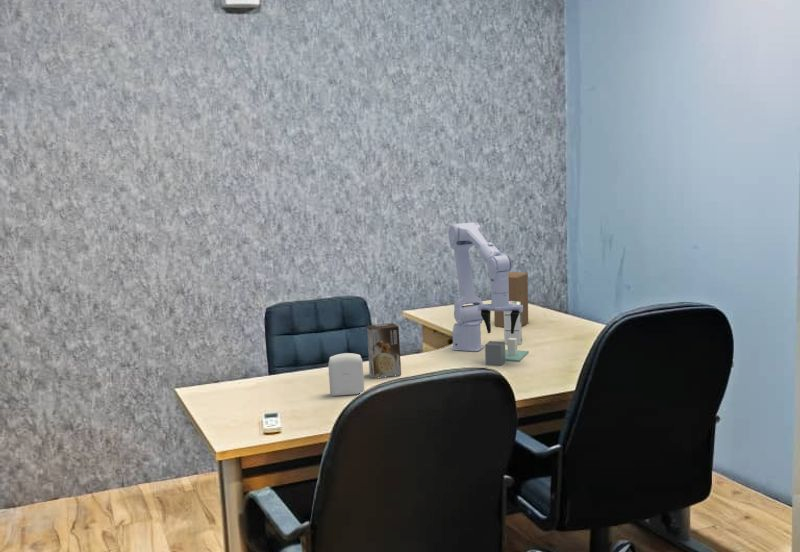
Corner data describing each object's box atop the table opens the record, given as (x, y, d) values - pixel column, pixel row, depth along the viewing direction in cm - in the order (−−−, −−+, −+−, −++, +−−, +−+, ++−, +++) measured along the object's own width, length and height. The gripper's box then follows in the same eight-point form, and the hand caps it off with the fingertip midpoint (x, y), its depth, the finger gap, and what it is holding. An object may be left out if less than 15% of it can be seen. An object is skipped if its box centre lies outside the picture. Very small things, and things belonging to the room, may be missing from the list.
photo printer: (330, 397, 278) (327, 356, 276) (329, 393, 282) (327, 352, 280) (364, 394, 279) (363, 354, 277) (363, 390, 283) (362, 350, 281)
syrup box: (520, 344, 332) (520, 304, 330) (504, 344, 334) (503, 304, 331) (522, 340, 338) (521, 301, 335) (505, 340, 339) (504, 301, 337)
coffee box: (396, 371, 304) (394, 322, 301) (401, 376, 298) (399, 326, 295) (368, 374, 302) (366, 325, 299) (373, 379, 296) (371, 329, 293)
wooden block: (518, 329, 357) (517, 277, 353) (494, 326, 362) (493, 275, 358) (528, 323, 365) (528, 272, 362) (505, 321, 370) (504, 271, 367)
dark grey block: (485, 364, 307) (485, 344, 306) (490, 360, 312) (489, 340, 311) (501, 365, 305) (500, 345, 304) (505, 361, 310) (504, 341, 309)
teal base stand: (496, 360, 313) (495, 342, 312) (505, 351, 323) (505, 334, 322) (519, 361, 310) (519, 343, 309) (528, 352, 320) (528, 335, 319)
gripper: (475, 294, 304) (476, 335, 306) (520, 294, 300) (521, 336, 302) (479, 290, 311) (480, 330, 313) (523, 290, 307) (524, 331, 309)
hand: (500, 332), depth 308 cm, fingers open, 7 cm apart
